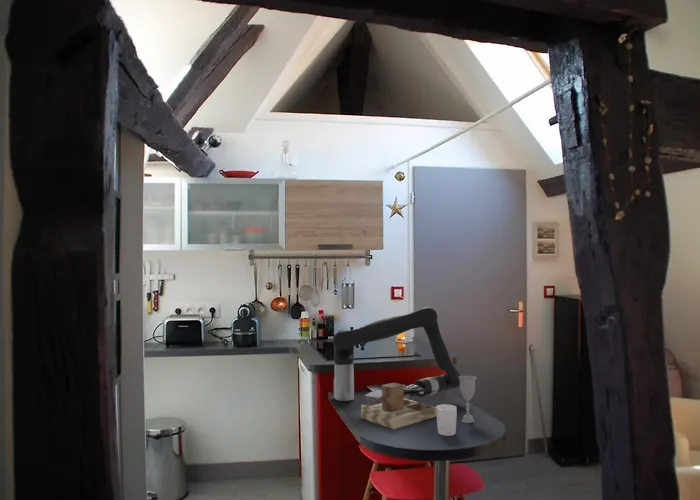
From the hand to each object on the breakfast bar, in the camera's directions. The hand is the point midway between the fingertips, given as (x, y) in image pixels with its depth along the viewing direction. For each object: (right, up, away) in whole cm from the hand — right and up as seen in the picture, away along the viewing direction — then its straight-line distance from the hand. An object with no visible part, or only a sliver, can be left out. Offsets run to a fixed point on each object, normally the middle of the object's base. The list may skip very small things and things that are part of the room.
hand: (398, 393), depth 226 cm
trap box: (0, -10, 0) cm, 10 cm away
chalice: (+28, -10, -7) cm, 30 cm away
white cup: (+17, -10, -22) cm, 29 cm away
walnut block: (-3, -6, -2) cm, 7 cm away
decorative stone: (-9, -11, +14) cm, 20 cm away
